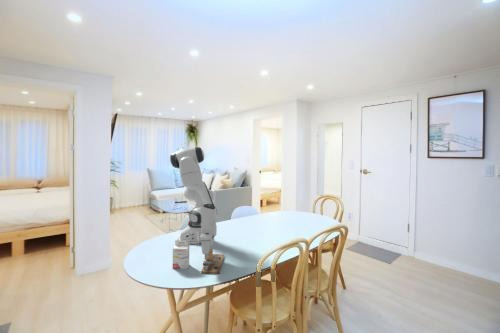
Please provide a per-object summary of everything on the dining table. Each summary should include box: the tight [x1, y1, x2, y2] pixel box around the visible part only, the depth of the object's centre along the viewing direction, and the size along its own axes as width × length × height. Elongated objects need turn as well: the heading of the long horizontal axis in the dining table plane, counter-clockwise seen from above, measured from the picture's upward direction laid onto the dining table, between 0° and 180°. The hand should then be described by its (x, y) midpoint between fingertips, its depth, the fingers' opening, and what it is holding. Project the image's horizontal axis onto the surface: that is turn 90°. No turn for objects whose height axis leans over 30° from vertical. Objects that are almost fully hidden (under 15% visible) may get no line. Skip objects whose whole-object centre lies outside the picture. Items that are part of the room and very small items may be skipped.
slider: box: [204, 248, 219, 261], centre depth 145 cm, size 8×4×7 cm, turn 90°
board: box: [200, 253, 225, 275], centre depth 144 cm, size 10×22×4 cm, turn 0°
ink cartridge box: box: [172, 239, 190, 270], centre depth 140 cm, size 9×5×15 cm, turn 92°
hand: (208, 255), depth 145 cm, fingers open, 5 cm apart
